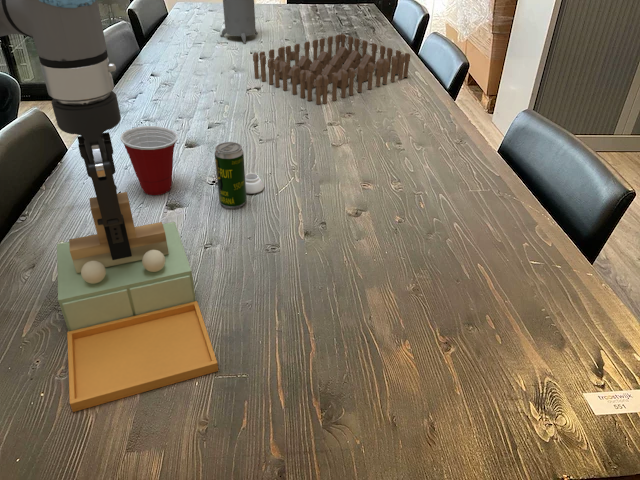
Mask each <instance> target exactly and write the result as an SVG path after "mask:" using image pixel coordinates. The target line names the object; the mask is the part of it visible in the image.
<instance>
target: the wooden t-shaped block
mask: <svg viewBox="0 0 640 480" xmlns="http://www.w3.org/2000/svg"><path fill="white" fill-rule="evenodd" d="M117 197H118V202H119V206H120V210H121V214H122V215H123V218H124V223H125V227H126V232H127V236H128V240H129V245H130V249H131V254H132V256H131V257H126V258H121V259H116V260H112V256H111V252H110V248H109V245H108V241H107V237H106V233H105V229H104V226H103V225H98V222H97V219H102V216H101V213H100V209H99V205H98V201H97V197H96V196H93V197H89V198H88V199H89V207H90V212H91V217H92V219H93V223H94V228H95V231H96V233H95V234H91V235H86V236H80V237H74V238H69V240H68V242H69V246H70V253H71V257H72V260H73V263H74V266H75V270H76V273H81V270H82V267H83V266H84V264H86V263H87V262H89V261H98V262H100V263H102V264H103V265H104V267H109V266H114V265H119V264H124V263H129V262H133V261H138V260H142V258H143V256H144V254H145V253H146V252H148V251H150V250H158V251H160V252H161V253H163V255H167V254H169V252H168V246H167V240H166V235H165V230H164V227H163V224H164V223H163V221H159V222H154V223H148V224H143V225H139V226H138V225H137V226H135V223H134V218H133V213H132V210H131V205H130V200H129V195H128V192H127V191H124V192H117Z"/></svg>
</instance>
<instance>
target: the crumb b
mask: <svg viewBox="0 0 640 480" xmlns="http://www.w3.org/2000/svg"><path fill="white" fill-rule="evenodd" d="M142 264H143V266H144V268H145V269H146V270H148V271H150V272H157V271H160V270H161V269H162V268H163V267H164V265H165V257H164V255H163V253H161V252H160V251H158V250H150V251H148V252H146V253H145V254H144V256H143V258H142Z"/></svg>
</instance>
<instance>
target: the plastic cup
mask: <svg viewBox="0 0 640 480" xmlns="http://www.w3.org/2000/svg"><path fill="white" fill-rule="evenodd" d="M178 138H179V134H178V133H177V132H176V131H175V130H173V129H170V128H168V127H163V126H157V125H144V126H143V125H142V126H136V127H132V128H129V129H126V130H125V131H123V132H122V133H121V134H120V138H119V140H120V141H121V143H122V144H123V145H124V148H125V150H126V153H127V155H128V158H129V159H130V163H131V165H132V167H133V171H134V174H135V176H136V178H137V179H138V183H139V185H140V187H141V189H142V191H143V192H144V194H147V195H149V196H160V195H163V194H167V193H168V192H170V190H171V189H172V185H173V170H174V168H173V167H174V166H173V165H174V152H175V147H176V142H177V141H178Z"/></svg>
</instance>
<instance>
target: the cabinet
mask: <svg viewBox="0 0 640 480" xmlns="http://www.w3.org/2000/svg"><path fill="white" fill-rule="evenodd" d="M162 224H163V227H164V230H165V235H166V240H167V246H168V252H169V254H167V255H164V257H165V265H164V267H163V268H162V269H161V270H160V271H157V272H150V271H148V270H146V269H145V268H144V266H143V264H142V260H138V261H133V262H129V263H124V264H119V265H114V266H109V267H105V269H106V275H105V277H104V279H103V280H102V281H101V282H99V283H95V284H91V283H88V282H86V281H85V280H84V279H83V278H82V275H81V273H76V270H75V266H74V263H73V260H72V257H71V253H70V246H69V241H65V242H61V243H57V244H56V259H57V260H56V263H57V265H56V266H57V267H56V268H57V269H56V271H57V302H58V304H59V307H60V308H59V309H60V310H61V313H62V316H63V320H64V323H65V325H66V329H67V332H69V331H73V330H77V329H82V328H86V327H90V326H94V325H98V324H102V323H107V322H111V321H115V320H119V319H123V318H128V317H132V316H136V315H140V314H144V313H149V312H153V311H157V310H161V309H165V308H170V307H174V306H178V305H182V304H186V303H191V302H195V301H197V299H196V292H195V291H196V290H195V287H194V286H195V285H194V278H193V277H194V276H193V272H192V267H191V265H190V262H189V259H188V257H187V253H186V250H185V248H184V244H183V242H182V239H181V235H180V233H179V229H178V227H177V224H176V222H175V221H172V222H166V223H162Z"/></svg>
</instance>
